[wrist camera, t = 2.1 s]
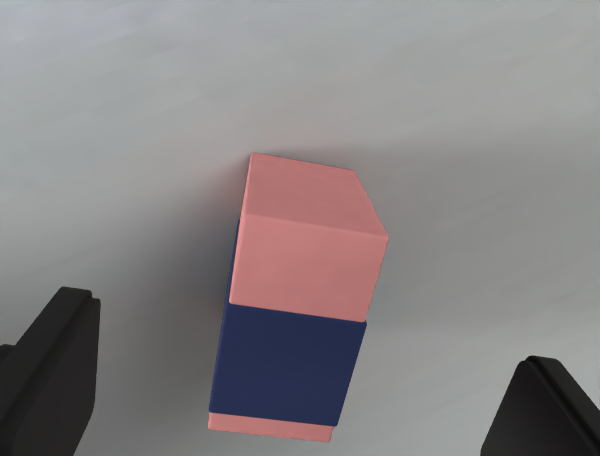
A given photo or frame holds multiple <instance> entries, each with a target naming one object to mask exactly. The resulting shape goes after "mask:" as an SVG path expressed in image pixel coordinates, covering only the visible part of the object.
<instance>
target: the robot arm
mask: <svg viewBox="0 0 600 456" xmlns="http://www.w3.org/2000/svg"><path fill="white" fill-rule="evenodd" d="M100 306H101V302H100V299H97V298H92V292H91V291H90V290H84V289H77V288H70V287H61V288H60V289H59V290H58V291H57V293H56V294H55V295H54V296H53V298H52V299H51V300H50V302H49V303H48V304H47V305H46V307H45V308H44V309H43V310H42V312H41V313H40V314H39V316H38V317H37V318H36V319H35V321H34V322H33V323H32V324H31V326H30V327H29V328H28V330H27V331H26V332H25V333H24V335H23V336H22V337H21V338H20V340H19V341H18V342H17V344H16V345H15V346H14V345H7V344H4V345H1V346H0V456H73V455H74V453H75V450H76V448H77V446H78V444H79V442H80V440H81V437H82V435H83V433H84V431H85V429H86V426H87V424H88V422H89V420H90V418H91V415H92V412H93V408H94V403H95V390H96V373H97V356H98V340H99V323H100ZM480 456H600V410H599V409H598V408H597V407H596V406H595V404H594V403H593V402H592V401H591V399H590V398H589V397H588V396H587V394H586V393H585V392H584V391H583V390H582V388H581V387H580V386H579V385H578V383H577V382H576V381H575V380H574V378H573V377H572V376H571V375H570V373H569V372H568V371H567V370H566V369H565V367H564V366H563V365H562V364H561V362H559V361H558V360H557V359H553V358H546V357H539V356H529V357H528V358H526V360H525V361H521V362H520V363H519V364H518V366H517V368H516V370H515V372H514V375H513V377H512V379H511V382H510V384H509V386H508V388H507V391H506V393H505V395H504V398H503V400H502V402H501V404H500V407H499V409H498V411H497V413H496V416H495V418H494V420H493V423H492V425H491V427H490V429H489V432H488V434H487V436H486V439H485V441H484V443H483V445H482V448H481V453H480Z"/></svg>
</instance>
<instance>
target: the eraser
mask: <svg viewBox="0 0 600 456" xmlns="http://www.w3.org/2000/svg"><path fill="white" fill-rule="evenodd" d="M388 241H389V237H388V235H387V233H386V231H385V229H384V227H383V225H382V223H381V221H380V220H379V218H378V216H377V214H376V212H375V210H374V208H373V206H372V204H371V202H370V200H369V198H368V196H367V194H366V192H365V190H364V189H363V187H362V185H361V183H360V181H359V179H358V177H357V175H356V173H355V171H353V170H348V169H342V168H337V167H331V166H326V165H320V164H315V163H309V162H303V161H298V160H292V159H287V158H281V157H276V156H270V155H265V154H259V153H252V154H251V158H250V164H249V170H248V176H247V182H246V188H245V194H244V200H243V206H242V212H241V218H240V219H239V221H238V226H237V232H236V238H235V244H234V250H233V256H232V262H231V268H230V274H229V280H228V286H227V292H226V298H225V304H224V311H223V318H222V324H221V331H220V338H219V344H218V351H217V357H216V364H215V371H214V377H213V384H212V391H211V397H210V404H209V412H210V415H209V422H208V428H209V429H210V430H219V431H228V432H237V433H246V434H256V435H265V436H274V437H283V438H292V439H301V440H311V441H320V442H329V441H330V439H331V436H332V432H333V429H334V427H335V426H337V424H338V421H339V417H340V414H341V411H342V407H343V404H344V400H345V397H346V394H347V390H348V387H349V383H350V380H351V377H352V373H353V370H354V367H355V363H356V360H357V356H358V353H359V350H360V346H361V343H362V339H363V336H364V333H365V329H366V326H367V323H366V320H365V319H366V316H367V312H368V309H369V306H370V302H371V299H372V295H373V292H374V288H375V285H376V282H377V278H378V275H379V271H380V268H381V264H382V261H383V258H384V254H385V251H386V247H387V244H388Z"/></svg>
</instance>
